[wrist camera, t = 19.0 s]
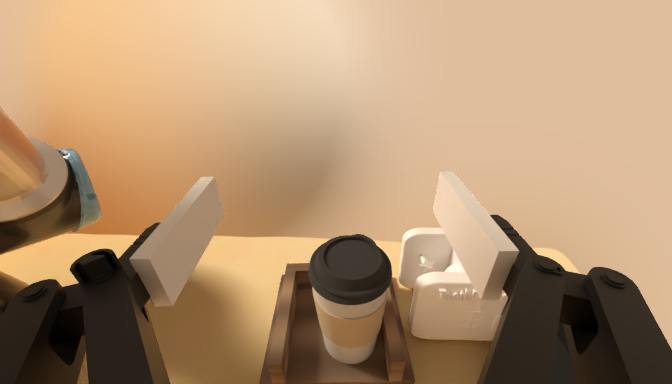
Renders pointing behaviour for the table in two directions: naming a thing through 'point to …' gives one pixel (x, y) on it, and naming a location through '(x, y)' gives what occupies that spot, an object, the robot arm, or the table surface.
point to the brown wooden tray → (309, 348)
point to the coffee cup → (350, 294)
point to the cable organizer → (443, 291)
